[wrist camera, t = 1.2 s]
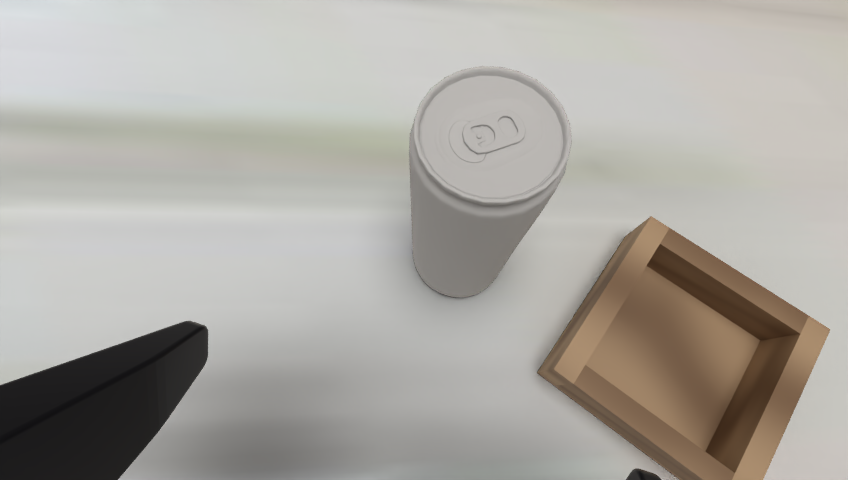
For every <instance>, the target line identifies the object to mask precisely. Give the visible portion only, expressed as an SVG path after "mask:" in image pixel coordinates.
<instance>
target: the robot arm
mask: <svg viewBox="0 0 848 480" xmlns="http://www.w3.org/2000/svg"><path fill="white" fill-rule="evenodd" d="M207 357H208V329H207V327H206V326H204V325H201V324H198V323H195V322H192V321H185V322H182V323H179V324H176V325H173V326H170V327H167V328H164V329H161V330H158V331H156V332H153V333H150V334H147V335H144V336H141V337H138V338H135V339H132V340H130V341H127V342H124V343H121V344H118V345H115V346H112V347H109V348H106V349H104V350H101V351H98V352H95V353H92V354H89V355H86V356H83V357H80V358H78V359H75V360H72V361H69V362H66V363H63V364H60V365H57V366H54V367H51V368H49V369H46V370H43V371H40V372H37V373H34V374H31V375H28V376H25V377H23V378H20V379H17V380H14V381H11V382H8V383H5V384H2V385H0V480H118V479H119V478H120V476H121V475H122V474H123V473H124V472H125V471H126V469H127V468H128V467H129V466H130V465H131V464H132V462H133V461H134V460H135V459H136V458H137V456H138V455H139V454H140V453H141V452H142V451H143V449H144V448H145V447H146V446H147V445H148V443H149V442H150V441H151V440H152V439H153V437H154V436H155V435H156V434H157V433H158V431H159V430H160V429H161V427H162V426H163V425H164V423H165V422H166V421H167V419H168V418H169V416H170V415H171V413H172V412H173V410H174V409H175V408H176V406H177V405H178V403H179V402H180V400H181V399H182V397H183V396H184V395H185V393H186V392H187V390H188V389H189V387H190V386H191V384H192V383H193V382H194V380H195V379H196V377H197V376H198V374H199V373H200V371H201V370H202V369H203V367H204V365H205V363H206V361H207ZM626 480H661V479H660V478H659V477H658V476H657V475H656V474H653V473H650V472H647V471H644V470H641V469H634V470H632V472H631V473H630V474H629V476H628V477H627V479H626Z"/></svg>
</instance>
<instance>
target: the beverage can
mask: <svg viewBox="0 0 848 480" xmlns="http://www.w3.org/2000/svg"><path fill="white" fill-rule="evenodd" d="M571 143H572V139H571V130H570V123H569V120H568V118H567V115H566V113H565V111H564V108H563V106H562V105H561V104H560V102H559V101H558V100H557V98H556V97H555V96H554V95H553V93H552V92H551V91H550V90H549V89H547V88H546V87H545V86H544V85H542V84H541V83H540V82H539V81H537V80H536V79H534V78H532V77H530V76H527V75H525V74H523V73H521V72H519V71H515V70H511V69H507V68H503V67H485V66H480V67H475V68H470V69H464V70H461V71H458V72H456V73H454V74H452V75H450V76H447V77H445V78H444V79H442V80H441V81H440V82H439V83H437V84H436V85H435V86H434V87H432V88H431V89H430V90H429V92H428V93H427V94H426V96H425V97H424V99H423V100H422V101H421V103H420V105H419V107H418V110H417V113H416V116H415V119H414V123H413V126H412V129H411V132H410V145H409V162H410V189H411V216H412V243H413V259H414V263H415V267H416V270H417V271H418V273H419V275H420V277H421V278H422V280H423V281H424V282H425V283H426V284H427V285H428V286H429V287H430V288H432V289H434V290H436V291H437V292H439V293H441V294H444V295H447V296H451V297H468V296H472V295H476V294H478V293H480V292H481V291H483V290H484V289H486V288H487V287H488V286H489V285H490V284H491V283H492V282H493V281H494V280H495V279H496V277H497V276H498V274H499V273H500V271H501V269H502V268H503V266H504V265H505V263H506V262H507V260H508V259H509V257H510V255H511V254H512V253H513V251H514V250H515V248H516V247H517V245H518V244H519V242H520V241H521V240H522V238H523V237H524V235H525V234H526V233H527V231H528V230H529V228H530V227H531V226H532V224H533V223H534V222H535V220H536V219H537V217H538V216H539V214H540V213H541V211H542V210H543V208H544V207H545V205H546V204H547V202H548V201H549V199H550V198H551V196H552V195H553V193H554V192H555V190H556V188H557V186H558V185H559V183H560V181H561V179H562V177H563V175H564V173H565V169H566V165H567V161H568V158H569V153H570V148H571Z"/></svg>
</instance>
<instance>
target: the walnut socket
mask: <svg viewBox="0 0 848 480" xmlns="http://www.w3.org/2000/svg"><path fill="white" fill-rule="evenodd" d="M829 331H830V329H829V328H827V327H826V326H824V325H822V324H821V323H819V322H818V321H816V320H815V319H813V318H811V317H810V316H808V315H807V314H805V313H803V312H802V311H800V310H799V309H797V308H796V307H794V306H792V305H791V304H789V303H788V302H786V301H784V300H783V299H781V298H780V297H778V296H777V295H775V294H773V293H772V292H770V291H769V290H767V289H765V288H764V287H762V286H761V285H759V284H758V283H756V282H754V281H753V280H751V279H750V278H748V277H746V276H745V275H743V274H742V273H740V272H739V271H737V270H735V269H734V268H732V267H731V266H729V265H727V264H726V263H724V262H723V261H721V260H720V259H718V258H716V257H715V256H713V255H712V254H710V253H708V252H707V251H705V250H704V249H702V248H701V247H699V246H697V245H696V244H694V243H693V242H691V241H689V240H688V239H686V238H685V237H683V236H682V235H680V234H678V233H677V232H675V231H674V230H672V229H670V228H669V227H667V226H666V225H664V224H663V223H661V222H659V221H658V220H656V219H655V218H653V217H650V218H648V219H647V220H646V221H644V222H643V223H642V224H641V225H639V226H638V227H637V228H636V229H634V230H633V231H632V232H630V233H629V234H628V235H627V236H625V238H624V239H623V241H622V242H621V244H620V245H619V247H618V249H617V250H616V252H615V253H614V255H613V256H612V258H611V259H610V261H609V262H608V264H607V266H606V267H605V269H604V270H603V272H602V273H601V275H600V276H599V278H598V279H597V281H596V282H595V284H594V286H593V287H592V289H591V290H590V292H589V293H588V295H587V296H586V298H585V299H584V301H583V303H582V304H581V306H580V307H579V309H578V310H577V312H576V313H575V315H574V316H573V318H572V320H571V321H570V323H569V324H568V326H567V327H566V329H565V330H564V332H563V333H562V335H561V337H560V338H559V340H558V341H557V343H556V344H555V346H554V347H553V349H552V350H551V352H550V354H549V355H548V357H547V358H546V360H545V361H544V363H543V364H542V366H541V367H540V369H539V370H538V372H537V373H538V374H539V375H541V376H542V377H543V378H545V379H546V380H547V381H549V382H550V383H551V384H553V385H554V386H555V387H557V388H558V389H559V390H561V391H562V392H563V393H565V394H566V395H567V396H569V397H570V398H571V399H573V400H574V401H575V402H577V403H578V404H579V405H581V406H582V407H583V408H585V409H586V410H587V411H589V412H590V413H591V414H593V415H594V416H595V417H597V418H598V419H599V420H601V421H602V422H603V423H605V424H606V425H608V426H609V427H610V428H612V429H613V430H614V431H616V432H617V433H618V434H620V435H621V436H622V437H624V438H625V439H626V440H628V441H629V442H630V443H632V444H633V445H634V446H636V447H637V448H638V449H640V450H641V451H642V452H644V453H645V454H646V455H648V456H649V457H650V458H652V459H653V460H654V461H656V462H657V463H658V464H660V465H661V466H662V467H664V468H665V469H666V470H668V471H669V472H670V473H672V474H673V475H674V476H676V477H677V478H679V479H680V480H763V478H764V476H765V474H766V472H767V469H768V467H769V465H770V463H771V461H772V458H773V456H774V454H775V452H776V449H777V447H778V445H779V443H780V441H781V438H782V436H783V434H784V432H785V429H786V427H787V425H788V423H789V421H790V418H791V416H792V414H793V412H794V409H795V407H796V405H797V403H798V400H799V398H800V396H801V394H802V392H803V389H804V387H805V385H806V383H807V380H808V378H809V376H810V374H811V372H812V369H813V367H814V365H815V363H816V360H817V358H818V356H819V354H820V352H821V349H822V347H823V345H824V343H825V340H826V338H827V336H828V334H829Z"/></svg>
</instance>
